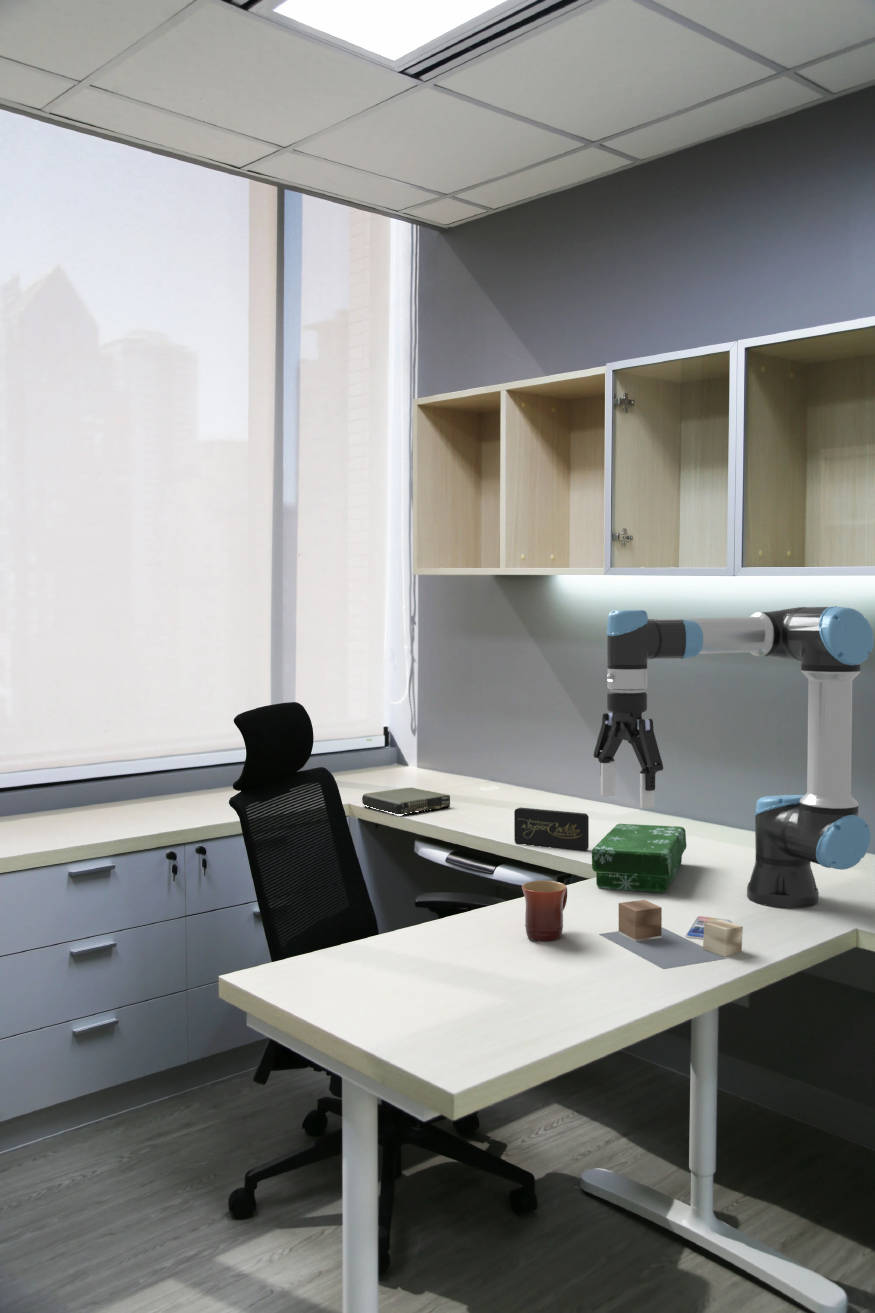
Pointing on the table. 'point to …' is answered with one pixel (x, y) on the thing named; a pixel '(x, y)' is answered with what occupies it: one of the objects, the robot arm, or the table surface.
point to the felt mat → (665, 949)
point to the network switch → (406, 800)
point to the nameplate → (551, 829)
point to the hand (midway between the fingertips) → (626, 801)
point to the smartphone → (700, 927)
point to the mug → (544, 909)
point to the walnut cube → (640, 920)
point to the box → (639, 857)
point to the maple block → (722, 937)
